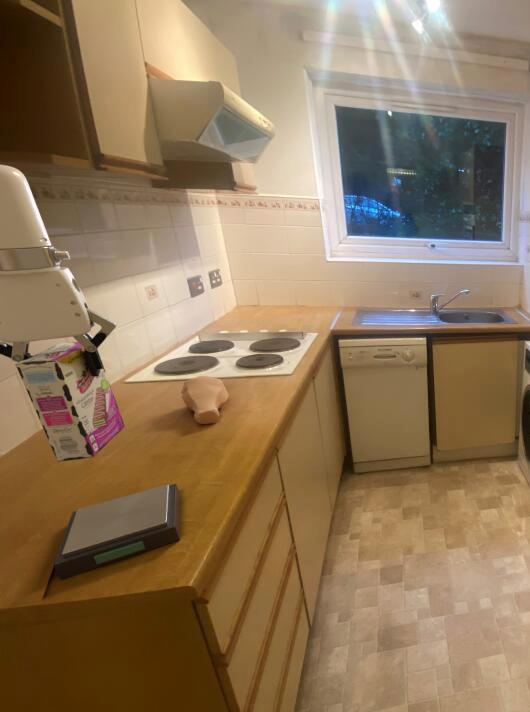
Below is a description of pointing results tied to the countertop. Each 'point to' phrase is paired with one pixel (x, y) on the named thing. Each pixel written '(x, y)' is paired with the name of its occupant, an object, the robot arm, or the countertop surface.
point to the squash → (205, 398)
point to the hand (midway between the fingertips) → (68, 377)
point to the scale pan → (117, 520)
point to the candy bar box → (71, 401)
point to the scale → (121, 543)
